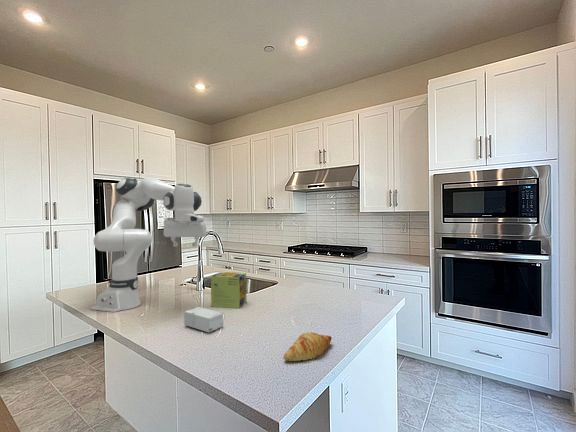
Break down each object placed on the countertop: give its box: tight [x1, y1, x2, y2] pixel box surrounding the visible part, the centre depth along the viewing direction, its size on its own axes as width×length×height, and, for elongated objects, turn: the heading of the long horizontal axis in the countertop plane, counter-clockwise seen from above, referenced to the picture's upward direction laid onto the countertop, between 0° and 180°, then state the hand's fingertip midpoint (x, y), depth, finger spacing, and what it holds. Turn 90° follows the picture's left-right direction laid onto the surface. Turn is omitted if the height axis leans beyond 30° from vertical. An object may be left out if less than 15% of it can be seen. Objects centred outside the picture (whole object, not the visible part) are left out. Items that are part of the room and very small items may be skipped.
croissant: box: [283, 332, 333, 362], centre depth 102 cm, size 21×10×8 cm, turn 130°
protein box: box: [210, 271, 247, 309], centre depth 154 cm, size 10×15×16 cm
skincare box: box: [183, 306, 224, 333], centre depth 125 cm, size 8×6×15 cm
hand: (185, 246), depth 144 cm, fingers open, 8 cm apart
